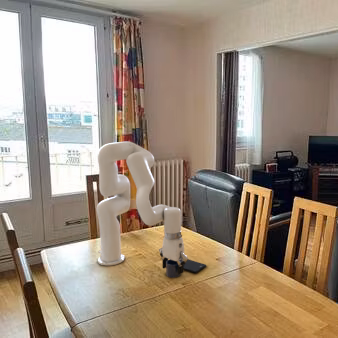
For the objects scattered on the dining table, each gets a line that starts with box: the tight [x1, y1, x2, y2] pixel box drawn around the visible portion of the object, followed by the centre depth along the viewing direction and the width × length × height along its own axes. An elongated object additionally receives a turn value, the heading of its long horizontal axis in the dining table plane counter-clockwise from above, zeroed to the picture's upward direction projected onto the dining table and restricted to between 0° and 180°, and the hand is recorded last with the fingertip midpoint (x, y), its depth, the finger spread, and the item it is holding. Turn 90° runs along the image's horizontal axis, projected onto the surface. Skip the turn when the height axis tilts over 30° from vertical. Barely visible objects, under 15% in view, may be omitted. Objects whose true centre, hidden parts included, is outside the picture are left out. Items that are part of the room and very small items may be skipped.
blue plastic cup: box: [165, 259, 181, 279], centre depth 150 cm, size 7×7×6 cm
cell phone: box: [179, 258, 207, 274], centre depth 159 cm, size 9×18×1 cm, turn 59°
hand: (173, 270), depth 150 cm, fingers open, 9 cm apart
